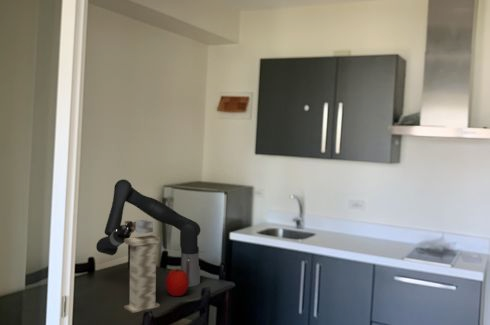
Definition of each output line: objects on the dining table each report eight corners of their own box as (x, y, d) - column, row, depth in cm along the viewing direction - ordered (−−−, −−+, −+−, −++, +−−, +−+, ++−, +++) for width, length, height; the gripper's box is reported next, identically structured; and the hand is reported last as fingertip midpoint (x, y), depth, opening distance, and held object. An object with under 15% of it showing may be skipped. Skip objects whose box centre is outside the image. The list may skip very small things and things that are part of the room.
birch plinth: (150, 301, 246) (151, 235, 244) (159, 306, 240) (160, 238, 238) (123, 307, 237) (124, 238, 235) (132, 312, 231) (132, 241, 229)
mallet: (132, 225, 250) (132, 215, 249) (152, 232, 235) (152, 221, 235) (121, 227, 246) (121, 216, 245) (141, 233, 231) (141, 222, 231)
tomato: (176, 289, 265) (177, 264, 264) (193, 295, 257) (194, 269, 256) (159, 295, 256) (159, 268, 255) (176, 300, 248) (176, 273, 247)
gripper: (104, 230, 250) (119, 216, 238) (131, 227, 259) (146, 213, 247) (108, 244, 248) (122, 232, 236) (134, 241, 257) (149, 228, 245)
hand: (134, 222), depth 242 cm, fingers closed on mallet, 2 cm apart
